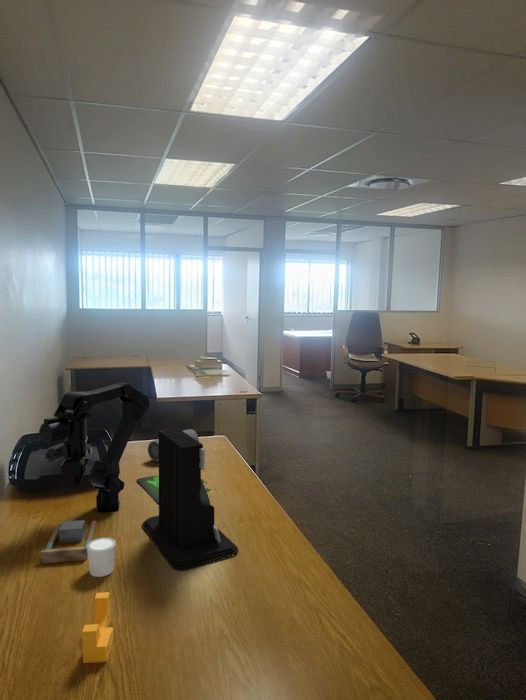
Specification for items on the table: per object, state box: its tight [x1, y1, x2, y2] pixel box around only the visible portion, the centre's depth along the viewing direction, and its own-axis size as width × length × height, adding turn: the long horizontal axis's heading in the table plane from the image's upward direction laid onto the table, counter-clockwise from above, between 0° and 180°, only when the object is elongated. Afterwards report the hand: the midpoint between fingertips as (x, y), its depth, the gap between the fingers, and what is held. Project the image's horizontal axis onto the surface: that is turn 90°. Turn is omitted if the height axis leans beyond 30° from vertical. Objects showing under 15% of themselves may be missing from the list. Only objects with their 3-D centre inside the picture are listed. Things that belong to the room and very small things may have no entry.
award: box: [141, 427, 239, 571], centre depth 137 cm, size 30×19×30 cm, turn 31°
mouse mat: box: [136, 474, 216, 505], centre depth 175 cm, size 27×22×1 cm
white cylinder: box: [87, 537, 116, 578], centre depth 121 cm, size 7×7×7 cm
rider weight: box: [58, 519, 87, 544], centre depth 137 cm, size 6×5×4 cm
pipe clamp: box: [81, 591, 114, 664], centre depth 97 cm, size 12×4×6 cm, turn 6°
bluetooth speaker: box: [147, 428, 200, 462], centre depth 208 cm, size 23×9×10 cm, turn 147°
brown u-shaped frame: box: [39, 520, 98, 565], centre depth 134 cm, size 11×20×3 cm, turn 12°
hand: (77, 485), depth 145 cm, fingers closed
